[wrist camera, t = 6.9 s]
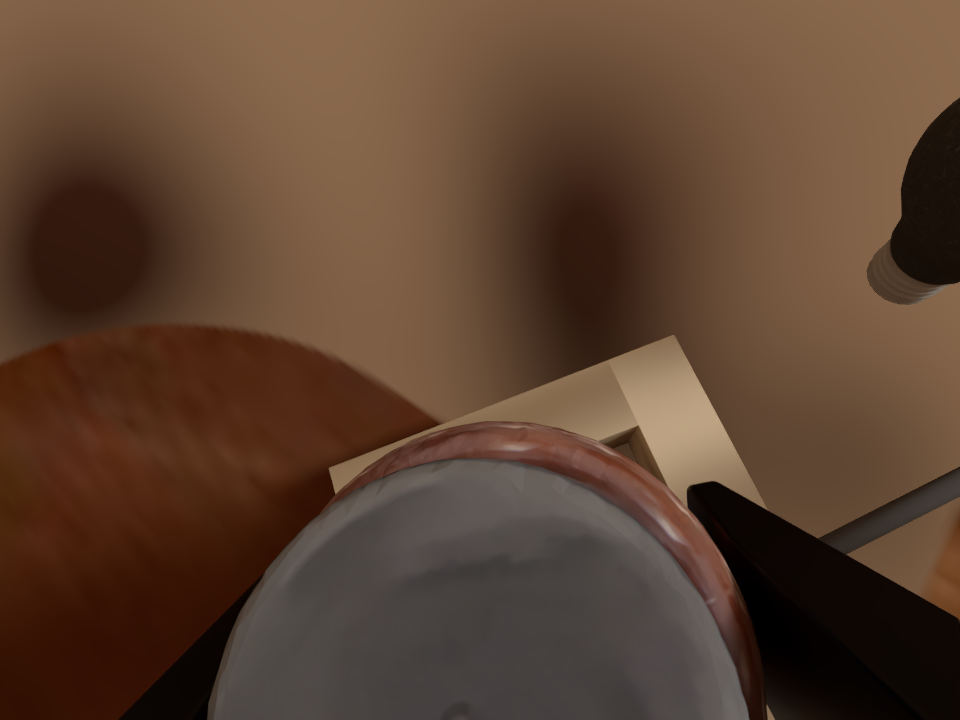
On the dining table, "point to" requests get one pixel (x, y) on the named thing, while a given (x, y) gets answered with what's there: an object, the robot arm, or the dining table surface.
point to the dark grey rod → (895, 513)
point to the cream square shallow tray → (622, 420)
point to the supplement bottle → (496, 595)
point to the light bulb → (925, 219)
